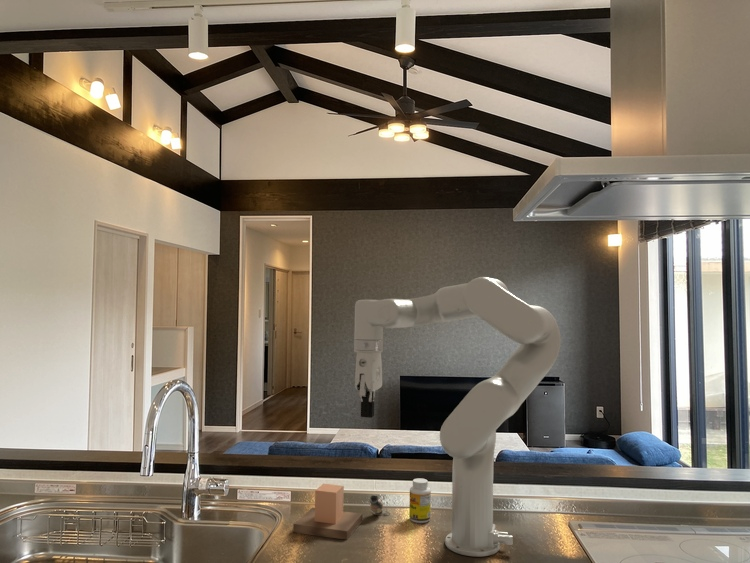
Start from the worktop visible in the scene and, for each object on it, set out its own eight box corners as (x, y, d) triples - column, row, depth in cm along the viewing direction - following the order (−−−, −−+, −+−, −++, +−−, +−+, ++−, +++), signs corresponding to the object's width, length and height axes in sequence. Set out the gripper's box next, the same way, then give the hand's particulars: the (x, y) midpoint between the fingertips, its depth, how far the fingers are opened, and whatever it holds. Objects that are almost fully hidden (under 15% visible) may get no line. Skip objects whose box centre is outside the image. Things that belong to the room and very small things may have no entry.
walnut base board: (362, 521, 143) (362, 513, 144) (347, 539, 132) (347, 531, 132) (312, 515, 147) (312, 507, 147) (293, 532, 136) (293, 523, 136)
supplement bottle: (406, 517, 147) (406, 478, 148) (425, 515, 149) (426, 476, 149) (413, 524, 142) (414, 484, 142) (433, 522, 143) (434, 482, 144)
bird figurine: (381, 522, 143) (379, 498, 144) (363, 519, 146) (361, 496, 147) (390, 515, 148) (389, 492, 149) (373, 513, 151) (371, 490, 151)
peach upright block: (343, 516, 142) (343, 485, 142) (335, 524, 136) (336, 492, 137) (322, 513, 143) (323, 483, 144) (314, 521, 138) (315, 490, 138)
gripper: (374, 348, 137) (373, 423, 136) (389, 345, 152) (388, 412, 151) (345, 347, 139) (344, 421, 138) (363, 344, 154) (362, 411, 153)
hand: (367, 416), depth 145 cm, fingers closed
